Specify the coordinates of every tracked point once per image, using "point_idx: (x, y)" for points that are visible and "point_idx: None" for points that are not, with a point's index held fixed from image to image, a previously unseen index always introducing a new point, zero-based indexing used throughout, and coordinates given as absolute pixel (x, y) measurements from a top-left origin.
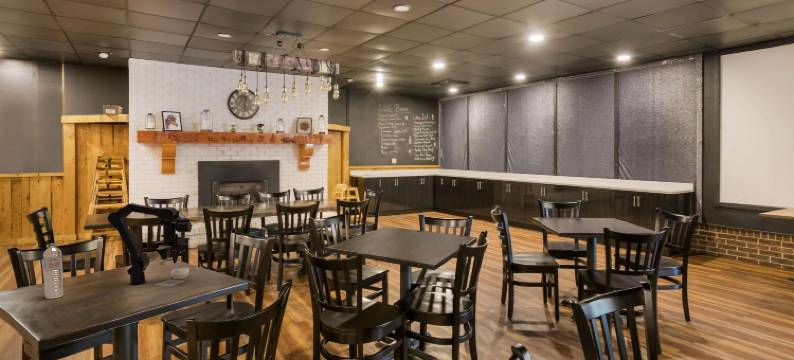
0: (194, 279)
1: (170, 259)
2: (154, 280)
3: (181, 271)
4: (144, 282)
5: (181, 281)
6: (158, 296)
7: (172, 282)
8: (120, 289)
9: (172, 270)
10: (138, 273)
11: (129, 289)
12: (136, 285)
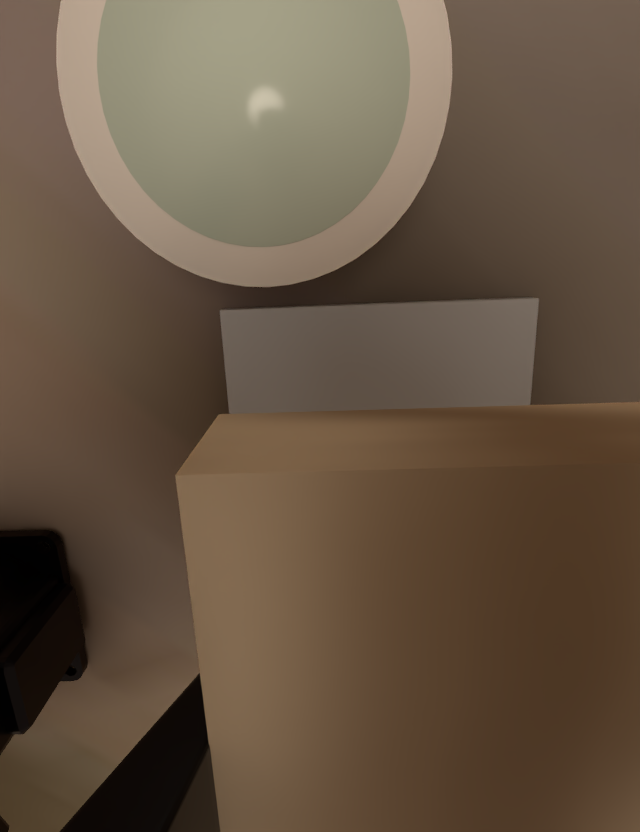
0: (569, 95)
1: (481, 778)
2: (11, 396)
3: (393, 190)
4: (73, 601)
5: (495, 341)
6: None
7: None
8: (28, 779)
9: (131, 202)
10: (2, 830)
11: (115, 753)
12: (75, 679)
